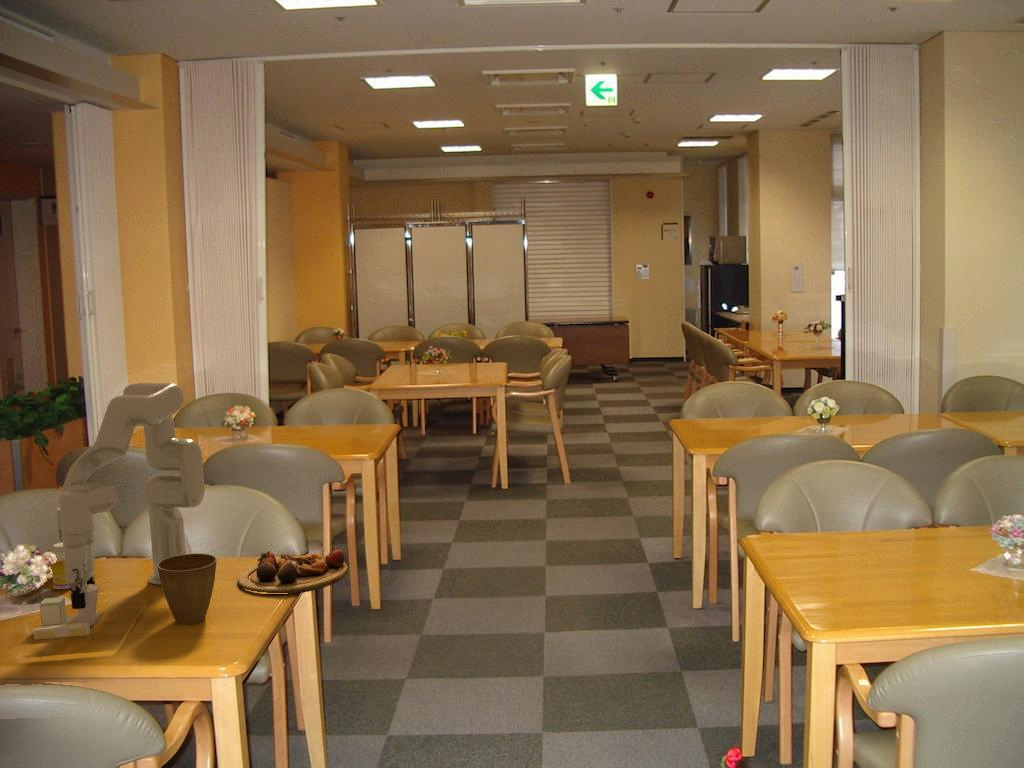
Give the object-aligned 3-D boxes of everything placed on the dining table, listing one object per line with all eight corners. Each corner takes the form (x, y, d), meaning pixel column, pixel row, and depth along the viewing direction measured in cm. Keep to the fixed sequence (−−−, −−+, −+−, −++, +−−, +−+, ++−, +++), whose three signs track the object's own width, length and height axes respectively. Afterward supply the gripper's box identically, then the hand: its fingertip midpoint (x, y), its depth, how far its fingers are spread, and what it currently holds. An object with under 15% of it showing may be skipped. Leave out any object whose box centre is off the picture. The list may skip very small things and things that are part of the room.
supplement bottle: (68, 590, 294) (64, 548, 292) (48, 589, 295) (44, 547, 294) (82, 583, 300) (78, 541, 299) (63, 582, 302) (59, 540, 300)
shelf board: (104, 616, 272) (104, 612, 272) (88, 638, 256) (88, 635, 256) (53, 620, 270) (53, 616, 270) (34, 643, 254) (34, 639, 254)
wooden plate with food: (357, 560, 315) (355, 534, 314) (337, 594, 283) (334, 565, 282) (255, 565, 316) (253, 539, 315) (224, 599, 284) (221, 571, 283)
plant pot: (166, 634, 257) (161, 574, 255) (157, 616, 270) (153, 558, 268) (226, 623, 264) (221, 563, 262) (214, 606, 277) (210, 549, 275)
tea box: (67, 622, 265) (64, 597, 264) (62, 628, 261) (59, 602, 260) (47, 624, 265) (44, 598, 264) (42, 630, 261) (39, 603, 260)
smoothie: (70, 628, 260) (68, 575, 258) (78, 619, 267) (77, 567, 265) (95, 628, 261) (94, 575, 259) (103, 619, 267) (102, 568, 265)
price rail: (90, 635, 258) (89, 622, 258) (88, 639, 256) (87, 625, 256) (37, 640, 256) (35, 626, 256) (34, 643, 254) (32, 630, 254)
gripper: (72, 529, 268) (78, 592, 271) (52, 548, 251) (59, 614, 254) (102, 528, 269) (107, 589, 272) (84, 546, 252) (90, 612, 255)
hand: (84, 601), depth 263 cm, fingers open, 9 cm apart
